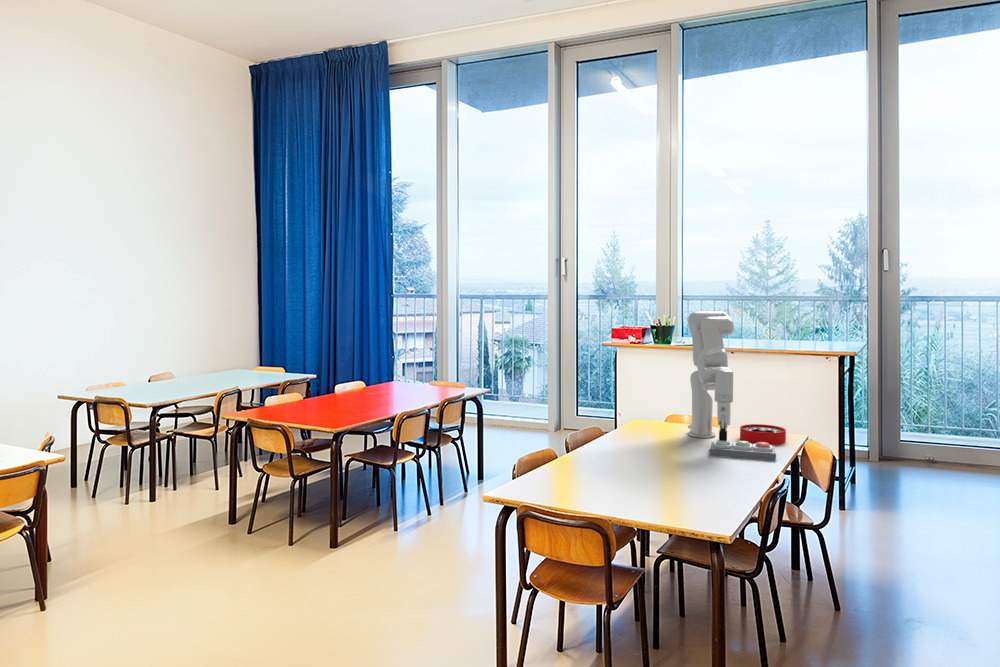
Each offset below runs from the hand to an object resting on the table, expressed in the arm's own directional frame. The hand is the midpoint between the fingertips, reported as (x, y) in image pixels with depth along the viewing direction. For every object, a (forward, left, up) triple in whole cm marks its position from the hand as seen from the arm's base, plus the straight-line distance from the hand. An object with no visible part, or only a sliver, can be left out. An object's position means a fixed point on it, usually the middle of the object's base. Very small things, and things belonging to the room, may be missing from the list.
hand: (722, 440), depth 293 cm
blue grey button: (0, 0, -2) cm, 2 cm away
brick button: (+12, +11, -2) cm, 16 cm away
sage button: (+6, +6, -2) cm, 8 cm away
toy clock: (-11, +34, -6) cm, 36 cm away
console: (+6, +6, -6) cm, 10 cm away
